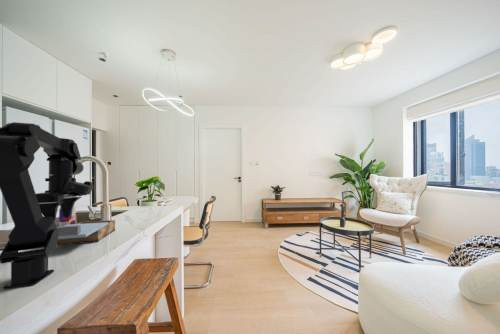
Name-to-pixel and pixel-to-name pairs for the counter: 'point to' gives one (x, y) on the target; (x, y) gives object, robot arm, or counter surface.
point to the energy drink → (67, 220)
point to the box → (92, 237)
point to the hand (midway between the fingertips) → (60, 220)
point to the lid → (79, 230)
